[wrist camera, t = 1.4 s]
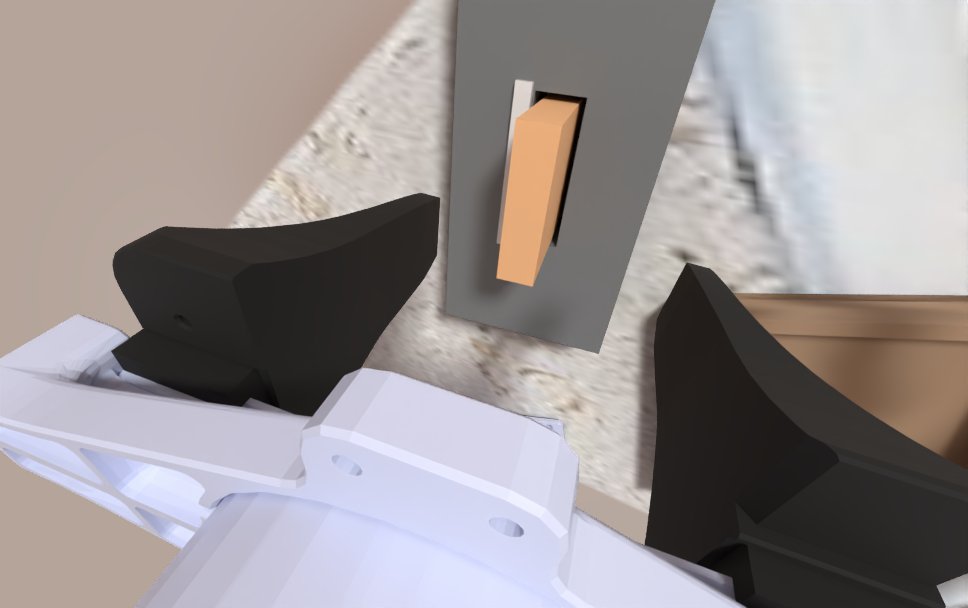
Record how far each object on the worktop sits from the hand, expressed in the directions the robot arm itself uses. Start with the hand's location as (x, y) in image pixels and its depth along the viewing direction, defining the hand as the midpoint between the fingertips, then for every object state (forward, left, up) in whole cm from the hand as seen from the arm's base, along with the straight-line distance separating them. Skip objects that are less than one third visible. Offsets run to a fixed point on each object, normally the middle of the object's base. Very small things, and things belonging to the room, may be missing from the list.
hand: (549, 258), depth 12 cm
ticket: (-1, 0, -11) cm, 11 cm away
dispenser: (-1, 0, -11) cm, 11 cm away
